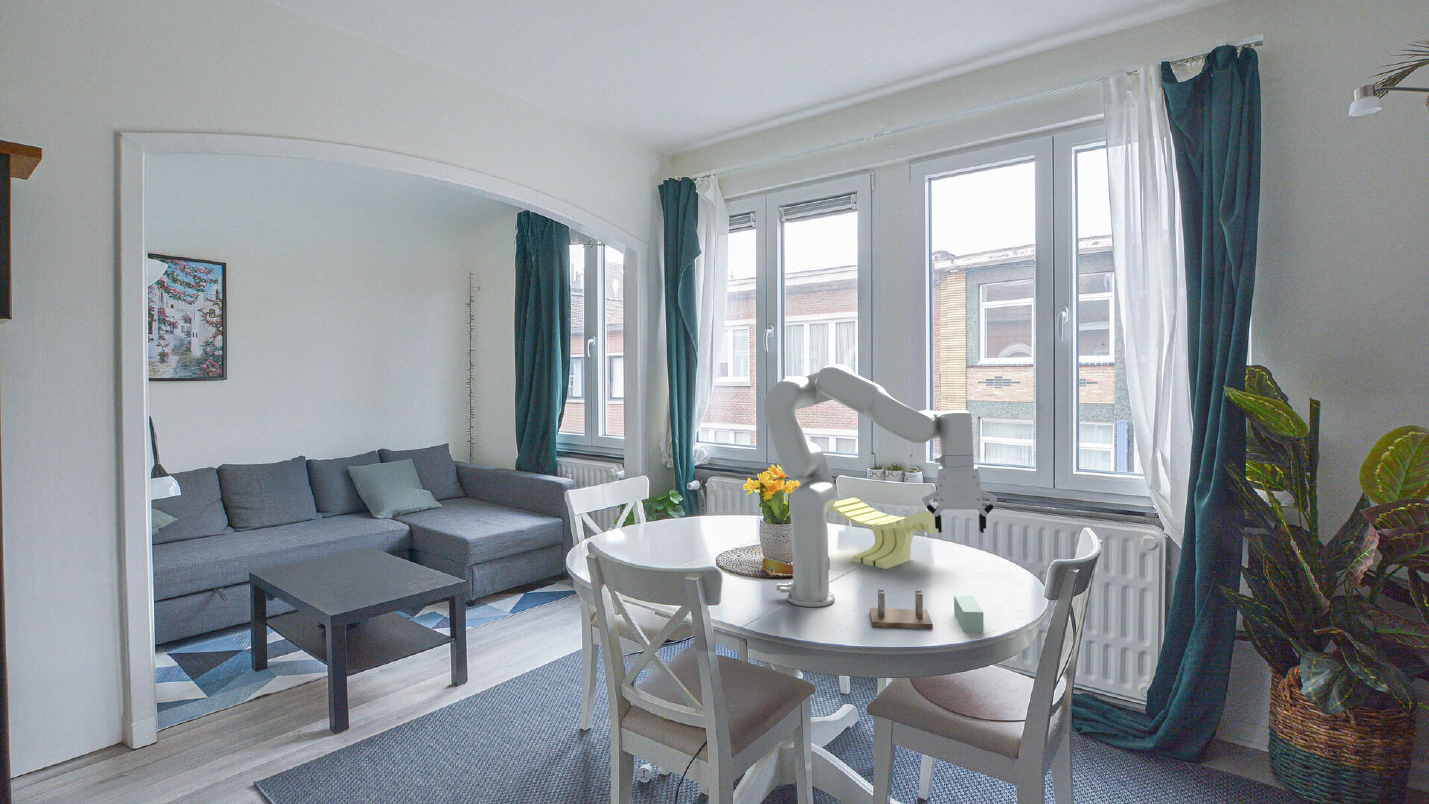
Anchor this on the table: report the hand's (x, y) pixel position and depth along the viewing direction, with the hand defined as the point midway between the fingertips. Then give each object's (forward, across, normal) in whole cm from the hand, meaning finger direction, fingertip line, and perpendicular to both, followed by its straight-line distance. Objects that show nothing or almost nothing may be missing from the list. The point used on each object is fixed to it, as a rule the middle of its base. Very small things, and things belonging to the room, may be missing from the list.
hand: (960, 531), depth 172 cm
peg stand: (+21, -15, -3) cm, 26 cm away
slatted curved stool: (+21, -21, +52) cm, 60 cm away
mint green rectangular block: (+22, +1, -2) cm, 22 cm away
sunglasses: (+20, -49, +35) cm, 64 cm away
